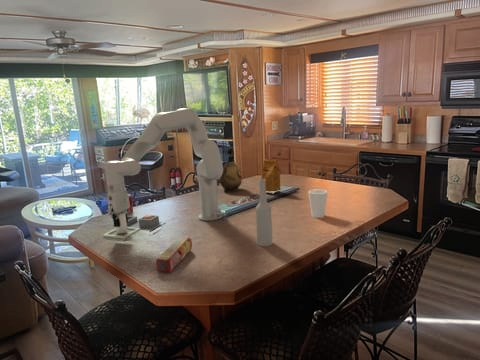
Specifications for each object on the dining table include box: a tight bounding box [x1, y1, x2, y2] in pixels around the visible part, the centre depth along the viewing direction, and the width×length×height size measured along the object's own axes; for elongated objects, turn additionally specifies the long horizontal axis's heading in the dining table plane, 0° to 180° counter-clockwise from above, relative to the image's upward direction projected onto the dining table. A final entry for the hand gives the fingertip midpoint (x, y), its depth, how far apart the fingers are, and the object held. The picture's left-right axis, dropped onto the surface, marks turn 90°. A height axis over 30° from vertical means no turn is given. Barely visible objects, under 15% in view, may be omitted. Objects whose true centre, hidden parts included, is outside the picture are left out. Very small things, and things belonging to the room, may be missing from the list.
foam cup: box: [308, 188, 328, 219], centre depth 185 cm, size 10×9×13 cm
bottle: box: [255, 178, 273, 247], centre depth 151 cm, size 7×7×28 cm
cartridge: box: [115, 210, 128, 234], centre depth 171 cm, size 5×5×10 cm
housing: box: [112, 214, 163, 233], centre depth 184 cm, size 23×10×6 cm, turn 69°
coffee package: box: [260, 158, 281, 191], centre depth 238 cm, size 10×12×22 cm
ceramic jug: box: [219, 146, 243, 192], centre depth 249 cm, size 17×15×30 cm
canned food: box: [128, 193, 134, 214], centre depth 207 cm, size 8×8×11 cm
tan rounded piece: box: [143, 214, 153, 219], centre depth 181 cm, size 4×4×4 cm
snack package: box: [155, 235, 193, 274], centre depth 141 cm, size 21×7×7 cm, turn 166°
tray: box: [102, 227, 141, 243], centre depth 172 cm, size 12×12×2 cm
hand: (121, 224), depth 171 cm, fingers closed on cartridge, 4 cm apart
